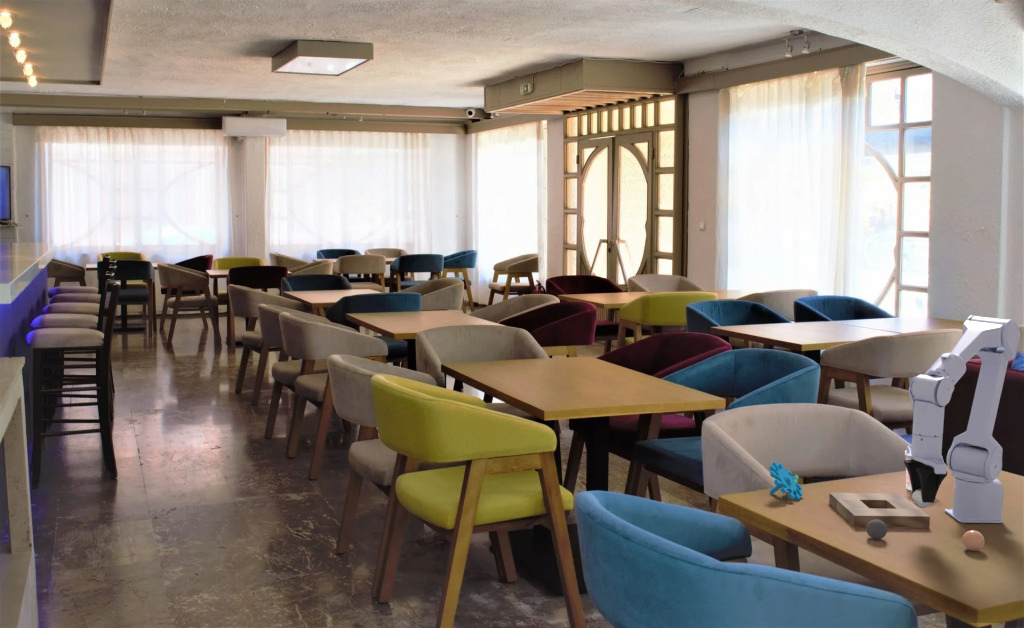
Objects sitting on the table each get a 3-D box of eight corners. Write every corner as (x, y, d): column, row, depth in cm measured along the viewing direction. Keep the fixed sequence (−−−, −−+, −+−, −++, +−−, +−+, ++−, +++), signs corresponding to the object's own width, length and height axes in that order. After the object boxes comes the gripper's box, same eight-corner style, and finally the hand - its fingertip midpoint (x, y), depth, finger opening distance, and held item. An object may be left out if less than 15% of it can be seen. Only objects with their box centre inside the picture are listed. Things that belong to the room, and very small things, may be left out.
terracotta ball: (977, 546, 197) (979, 527, 197) (987, 553, 193) (989, 534, 193) (958, 546, 197) (959, 527, 197) (967, 553, 193) (968, 534, 193)
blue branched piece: (791, 498, 222) (766, 461, 226) (772, 512, 225) (748, 475, 229) (813, 495, 230) (789, 459, 234) (795, 508, 233) (771, 472, 237)
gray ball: (881, 535, 203) (883, 516, 203) (889, 542, 199) (890, 523, 199) (862, 535, 203) (863, 516, 203) (869, 542, 199) (871, 522, 199)
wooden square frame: (898, 504, 224) (899, 493, 224) (929, 527, 208) (930, 516, 208) (828, 503, 224) (829, 492, 224) (854, 527, 208) (854, 515, 208)
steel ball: (927, 506, 204) (928, 486, 204) (936, 509, 200) (937, 490, 200) (908, 505, 204) (909, 486, 204) (917, 509, 200) (917, 489, 200)
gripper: (893, 425, 208) (889, 487, 209) (923, 442, 193) (918, 509, 195) (927, 425, 208) (922, 488, 209) (958, 443, 193) (954, 509, 195)
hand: (923, 498), depth 202 cm, fingers closed on steel ball, 4 cm apart
